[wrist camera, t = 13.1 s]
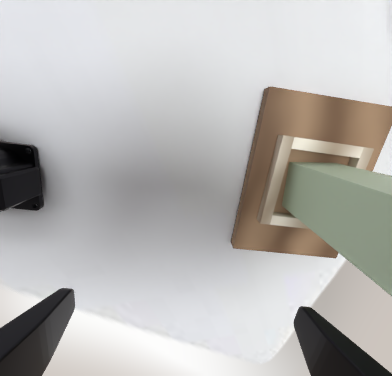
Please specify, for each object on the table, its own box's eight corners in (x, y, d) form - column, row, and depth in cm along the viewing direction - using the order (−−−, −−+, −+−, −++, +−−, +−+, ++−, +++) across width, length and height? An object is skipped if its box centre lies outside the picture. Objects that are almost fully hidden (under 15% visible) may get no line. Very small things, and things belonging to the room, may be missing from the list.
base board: (230, 242, 22) (235, 254, 20) (264, 89, 17) (275, 83, 15) (328, 251, 23) (342, 264, 21) (385, 109, 18) (411, 106, 16)
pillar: (281, 205, 19) (448, 343, 7) (289, 161, 18) (513, 234, 6) (324, 206, 20) (560, 340, 7) (335, 162, 18) (649, 235, 6)
